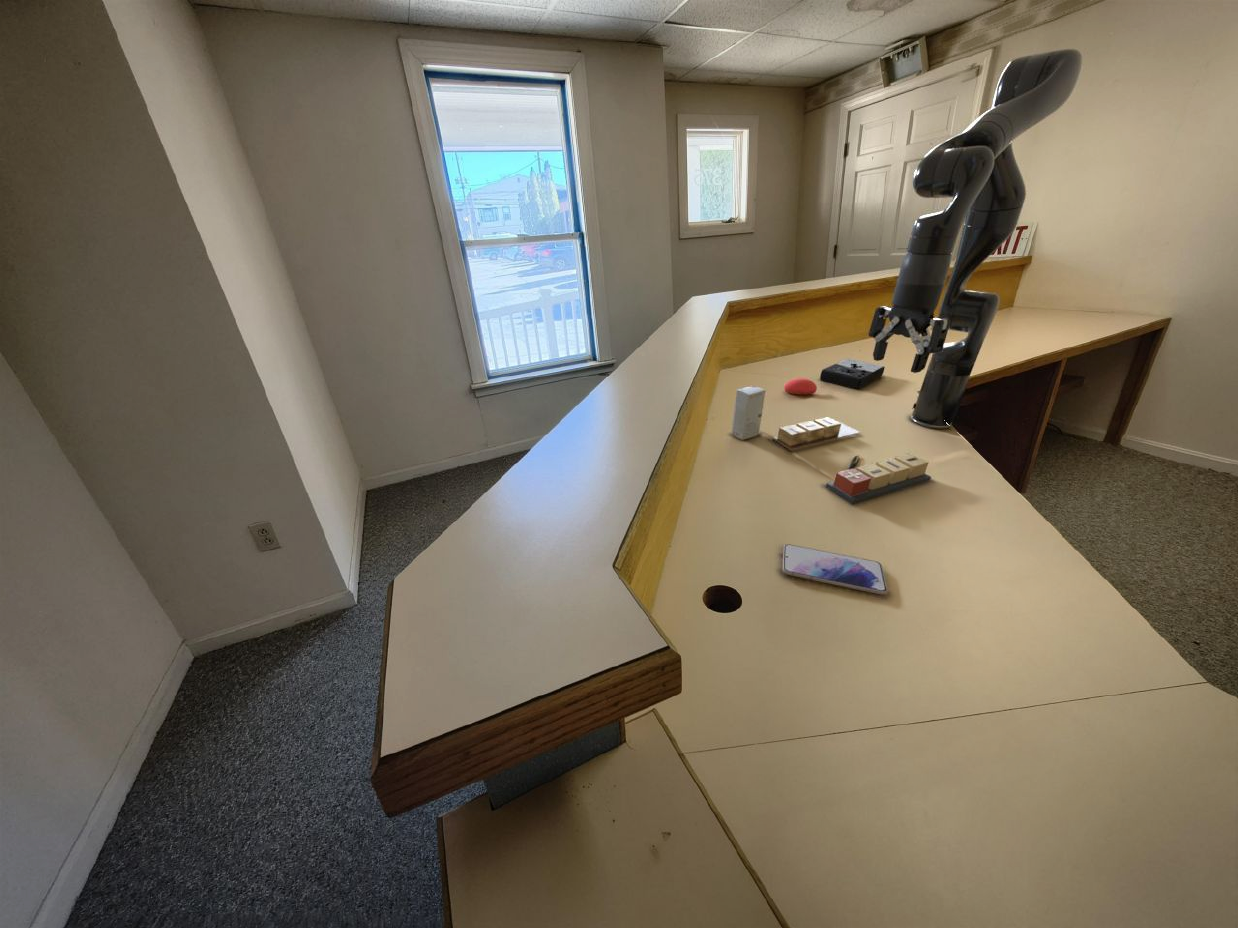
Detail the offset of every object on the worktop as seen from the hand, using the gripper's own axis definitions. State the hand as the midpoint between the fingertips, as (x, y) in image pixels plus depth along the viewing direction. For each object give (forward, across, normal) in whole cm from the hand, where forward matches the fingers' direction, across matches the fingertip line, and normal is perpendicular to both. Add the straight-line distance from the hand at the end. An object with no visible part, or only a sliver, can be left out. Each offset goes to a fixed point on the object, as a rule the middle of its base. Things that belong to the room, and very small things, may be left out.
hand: (896, 365), depth 91 cm
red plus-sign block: (+21, -7, +13) cm, 26 cm away
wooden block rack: (+23, -7, +5) cm, 24 cm away
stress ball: (+24, +41, -17) cm, 50 cm away
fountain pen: (+22, -1, +6) cm, 23 cm away
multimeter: (+25, +45, -43) cm, 67 cm away
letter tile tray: (+23, +15, +1) cm, 28 cm away
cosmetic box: (+23, +24, +16) cm, 37 cm away
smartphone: (+22, -23, +34) cm, 47 cm away
